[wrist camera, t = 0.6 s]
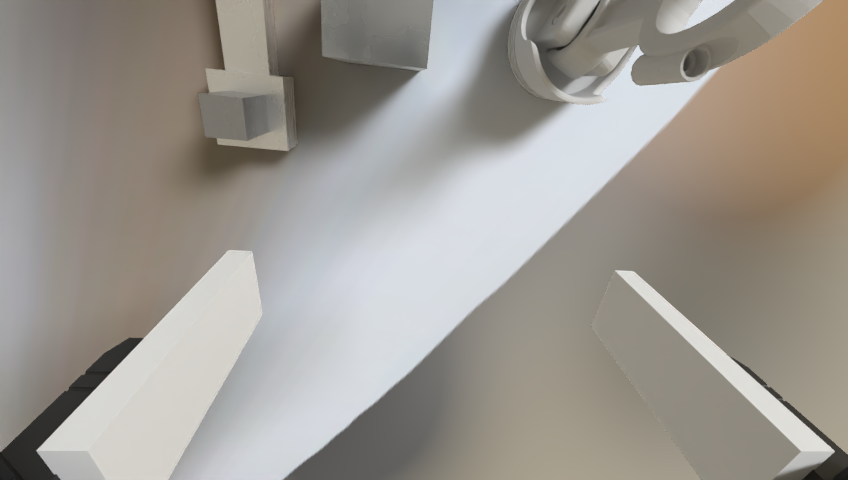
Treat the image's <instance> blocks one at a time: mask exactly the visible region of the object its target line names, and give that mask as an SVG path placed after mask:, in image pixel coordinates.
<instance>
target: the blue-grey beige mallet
mask: <svg viewBox="0 0 848 480" xmlns="http://www.w3.org/2000/svg"><path fill="white" fill-rule="evenodd" d="M216 7H217V14H218V21H219V28H220V36H221V43H222V50H223V57H224V64H225V69H210V68H205V69H206V75H207V81H208V88H209V92H207V93H198V98H199V104H200V110H201V115H202V121H203V127H204V132H205V137H210V138H217V143H218V145H229V146H240V147H250V148H261V149H272V150H282V151H289V150H290V149H292V148H293V147H295V146H296V145H297V130H296V113H295V96H294V79H293V77H288V76H280V75H279V69H278V55H277V42H276V29H275V16H274V3H273V0H216Z"/></svg>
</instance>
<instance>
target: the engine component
mask: <svg viewBox="0 0 848 480" xmlns="http://www.w3.org/2000/svg"><path fill="white" fill-rule="evenodd" d="M822 1H823V0H735V1H734V2H732V3H731V4H729V5H728V6H726V7H725V8H724V9H722V10H721V11H719V12H718V13H716V14H715V15H713V16H711V17H710V18H708V19H706V20H704V21H703V22H701V23H699V24H697V25H695V26H693V27H691V28H689V29H686V30H684V27H685V25H686V24H687V22H688V20H689V18H690V17H691V15H692V14H693V12H694V11H695V10H696V8H697V7H698V6H699V4H700V3H701V2H702V0H522V1H521V3H520V4H519V6H518V8H517V10H516V12H515V14H514V16H513V19H512V22H511V25H510V30H509V35H508V57H509V62H510V66H511V69H512V71H513V73H514V76H515V78H516V79H517V81H518V82H519V83H520V85H521V86H522V87H523V88H524V89H526V90H527V91H528V92H529V93H531V94H533V95H535V96H537V97H539V98H543V99H548V100H554V101H560V102H566V103H573V104H582V105H591V104H598V103H602V102H604V101H606V99H605V98H604V97H602V96H601V95H600V94H601V93H602V92H603V91H604V90H605V89H606V87H607V86H608V85H609V84H610V83H611V82H612V81H613V80H614V79H615V78H616V77H617V76H618V75H619V73H620V72H621V71H622V69H623V68H624V66H625V65H626V63H627V62H628V60H629V58H630V57H631V55H632V53H633V52H634V50H635V48H636V47H637V45H639V47H640V50H641V51H642V52H643V53H644V55H642V56H640V57H639V58H638V59H637V60H636V61H635V63H634V64H633V66H632V71H631V76H632V80H633V82H634V83H635V84H637V85H640V86H642V85H655V84H667V83H679V82H691V81H696V80H699V79H700V78H702V77H703V76H704V75H705V74H706V73H707V72H708V70H711V69H714V68H717V67H719V66H722V65H724V64H727V63H729V62H731V61H733V60H735V59H737V58H739V57H741V56H743V55H745V54H747V53H749V52H750V51H752V50H754V49H756V48H758V47H759V46H761V45H763V44H764V43H766V42H768V41H769V40H771V39H772V38H774V37H775V36H777V35H778V34H780V33H781V32H783V31H784V30H785V29H787V28H788V27H790V26H791V25H792V24H794V23H795V22H796V21H798V20H799V19H800V18H802V17H803V16H804V15H806V14H807V13H808V12H810V11H811V10H812V9H813V8H815V7H816V6H817V5H818V4H819V3H821V2H822Z"/></svg>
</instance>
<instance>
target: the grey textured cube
mask: <svg viewBox="0 0 848 480" xmlns="http://www.w3.org/2000/svg"><path fill="white" fill-rule="evenodd" d="M432 10H433V0H321V27H322V56H323V57H327V58H331V59H335V60H339V61H343V62H349V63H357V64H365V65H374V66H382V67H390V68H398V69H407V70H415V71H422V70H425V69H427V61H428V50H429V40H430V30H431V20H432Z"/></svg>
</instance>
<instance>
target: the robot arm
mask: <svg viewBox="0 0 848 480" xmlns="http://www.w3.org/2000/svg"><path fill="white" fill-rule="evenodd" d="M262 315H263V313H262V307H261V301H260V295H259V289H258V283H257V277H256V271H255V265H254V259H253V253H252V251H236V250H228V251H227V252H226V253H225V254H224V256H223V257H222V258H221V259H220V260H219V261H218V262H217V263H216V264H215V265H214V266H213V267H212V268H211V269H210V270H209V271H208V272H207V273H206V274H205V275H204V276H203V277H202V278H201V280H200V281H199V282H198V283H197V284H196V285H195V286H194V287H193V288H192V289H191V290H190V291H189V292H188V293H187V294H186V295H185V296H184V297H183V298H182V299H181V300H180V301H179V302H178V303H177V305H176V306H175V307H174V308H173V309H172V310H171V311H170V312H169V313H168V314H167V315H166V316H165V317H164V318H163V319H162V320H161V321H160V322H159V323H158V324H157V325H156V326H155V327H154V329H153V330H152V331H151V332H150V333H149V334H148V335H147V336H146V337H145V338H128V339H127V340H125V341H124V342H122V343H120V344H119V345H117V346H115V347H114V348H112V349H110V350H109V351H107V352H106V353H104V354H103V355H102V356H101V357H100V358H99V359H98V360H97V361H96V362H95V363H94V364H93V365H92V366H91V367H90V368H89V369H88V370H86V373H85V375H81V376H80V377H79V378H78V379H77V380H76V381H75V382H74V383H73V384H72V385H71V386H70V387H69V390H68V391H64V392H63V393H62V394H61V395H60V396H59V397H58V398H57V399H56V400H55V401H54V402H53V403H52V404H51V405H50V406H49V407H48V408H47V409H46V410H45V411H44V412H42V413H41V414H40V415H39V416H38V417H37V418H36V419H35V420H34V421H33V422H32V423H31V424H30V425H29V426H28V427H27V428H26V429H25V430H24V431H23V432H22V433H20V434H19V435H18V436H17V437H16V438H15V439H14V440H13V441H12V442H11V443H10V444H9V445H8V446H7V447H6V448H5V449H4V450H3V451H2V452H0V480H168V479H169V477H170V475H171V474H172V472H173V470H174V468H175V467H176V465H177V463H178V461H179V460H180V458H181V456H182V455H183V453H184V451H185V449H186V448H187V446H188V444H189V442H190V441H191V439H192V437H193V435H194V434H195V432H196V430H197V428H198V427H199V425H200V423H201V421H202V420H203V418H204V416H205V414H206V413H207V411H208V409H209V407H210V406H211V404H212V402H213V400H214V399H215V397H216V395H217V393H218V392H219V390H220V388H221V386H222V385H223V383H224V381H225V379H226V378H227V376H228V374H229V372H230V371H231V369H232V367H233V365H234V364H235V362H236V360H237V358H238V357H239V355H240V353H241V351H242V350H243V348H244V346H245V344H246V343H247V341H248V339H249V338H250V336H251V334H252V332H253V331H254V329H255V327H256V325H257V324H258V322H259V320H260V318H261V317H262ZM591 327H592V328H593V330H594V331H595V333H596V334H597V336H598V337H599V338H600V340H601V341H602V342H603V344H604V345H605V347H606V348H607V349H608V351H609V352H610V354H611V355H612V356H613V358H614V359H615V361H616V362H617V363H618V365H619V366H620V368H621V369H622V370H623V372H624V373H625V374H626V376H627V377H628V379H629V380H630V381H631V383H632V384H633V386H634V387H635V388H636V390H637V391H638V393H639V394H640V395H641V397H642V398H643V400H644V401H645V402H646V404H647V405H648V407H649V408H650V409H651V411H652V412H653V413H654V415H655V416H656V418H657V419H658V420H659V422H660V423H661V425H662V426H663V427H664V429H665V430H666V432H667V433H668V434H669V436H670V437H671V439H672V440H673V441H674V443H675V444H676V446H677V447H678V448H679V450H680V451H681V452H682V454H683V455H684V457H685V458H686V459H687V461H688V462H689V464H690V465H691V466H692V468H693V469H694V470H695V472H696V473H697V475H698V476H699V478H700V479H701V480H848V455H847V454H846V453H845V452H844V451H843V450H842V449H841V448H839V447H838V446H837V445H836V444H835V443H834V442H832V441H831V440H830V439H829V438H828V437H827V436H826V435H824V434H823V433H822V432H821V431H820V430H819V429H818V428H816V427H815V426H814V425H813V424H812V423H811V422H810V421H809V420H807V419H806V418H805V417H804V416H803V415H802V414H801V413H799V412H798V411H797V410H796V409H795V408H794V407H793V406H791V405H790V404H789V403H788V402H787V401H783V399H782V397H781V396H780V395H779V394H778V393H777V392H775V391H774V390H773V389H772V388H770V387H767V384H766V383H765V382H764V381H763V380H762V379H760V378H759V377H758V376H757V375H756V374H755V373H754V372H752V371H751V370H750V369H749V368H748V367H746V366H745V365H743V364H741V363H740V362H738V361H737V360H735V359H734V358H732V357H730V356H729V355H727V354H726V353H724V352H723V351H722V350H721V349H720V348H719V347H718V346H717V345H715V344H714V343H713V342H712V341H711V340H710V339H709V338H708V337H706V336H705V335H704V334H703V333H702V332H701V331H700V330H699V329H698V328H696V327H695V326H694V325H693V324H692V323H691V322H690V321H689V320H687V319H686V318H685V317H684V316H683V315H682V314H681V313H680V312H679V311H677V310H676V309H675V308H674V307H673V306H672V305H671V304H669V303H668V302H667V301H666V300H665V299H664V298H663V297H662V296H661V295H659V294H658V293H657V292H656V291H655V290H654V289H653V288H652V287H650V286H649V285H648V284H647V283H646V282H645V281H644V280H643V279H642V278H640V277H639V276H638V275H637V274H636V273H635V272H633V271H619V270H614V272H613V275H612V277H611V280H610V282H609V284H608V287H607V289H606V291H605V294H604V296H603V298H602V301H601V303H600V306H599V308H598V310H597V313H596V315H595V317H594V320H593V322H592V325H591Z"/></svg>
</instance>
